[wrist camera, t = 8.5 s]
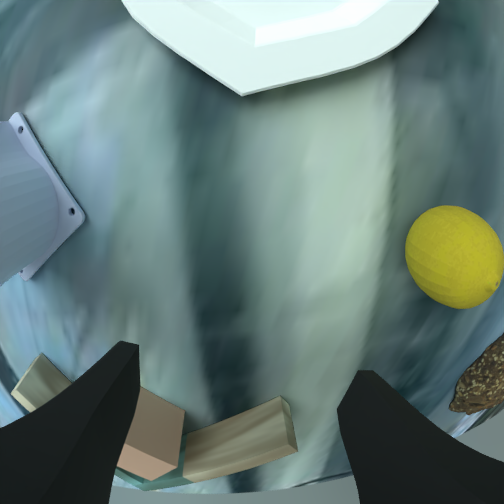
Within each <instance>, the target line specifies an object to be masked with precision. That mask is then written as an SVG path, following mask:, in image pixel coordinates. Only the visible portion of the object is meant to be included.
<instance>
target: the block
mask: <svg viewBox="0 0 504 504" xmlns="http://www.w3.org/2000/svg"><path fill="white" fill-rule="evenodd" d="M184 415H185V410H183V409H181V408H179V407H177V406H175V405H173V404H171V403H169V402H167V401H166V400H164V399H162V398H160V397H158V396H157V395H155V394H153V393H151V392H149V391H148V390H146V389H144V388H143V387H141V386H140V393H139V398H138V402H137V406H136V411H135V415H134V418H133V421H132V423H131V426H130V429H129V432H128V435H127V438H126V440H125V443H124V446H123V449H122V452H121V455H120V458H119V461H118V464H117V466H118V467H120V468H122V469H124V470H127V471H129V472H131V473H133V474H136V475H138V476H140V477H143V478H145V479H147V480H150V481H152V480H154V479H156V478H158V477H160V476H162V475H164V474H166V473H167V472H169V471H171V470H173V469H175V468H177V467H178V459H179V451H180V444H181V436H182V429H183V422H184Z"/></svg>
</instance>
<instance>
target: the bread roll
mask: <svg viewBox="0 0 504 504" xmlns="http://www.w3.org/2000/svg"><path fill="white" fill-rule="evenodd" d="M503 400H504V333H503V335H502V336H501V337H499V338H498V339H497V340H496V341H495V342H494V343H492V344H491V345H489V346H488V347H487V348H486V350H485V351H484V352H483V354H482V355H481V356H480V357H479V358H478V359H477V360H476V361H475V362H474V363H473V364H472V365H471V366H469V367H468V368H467V369H466V370H465V372H464V373H463V374H462V376H461V377H460V378H459V380H458V382H457V385H456V393H455V398H454V400H453V401H452V402H451V403H450V406H449V409H450V410H451V411H454V412H466V414H467V415H471V414H472V413H476V412H479V411H481V410H484V409H489V408H493V407H494V406H495V405H498V404H500V403H502V401H503Z"/></svg>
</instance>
